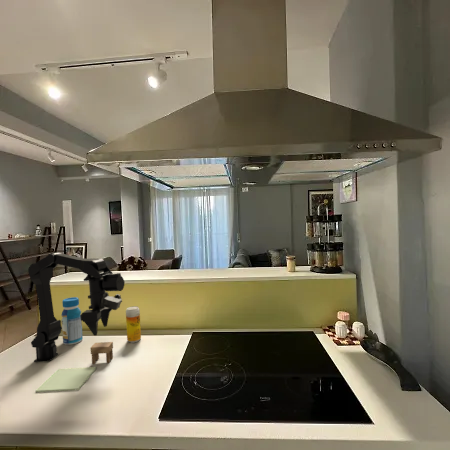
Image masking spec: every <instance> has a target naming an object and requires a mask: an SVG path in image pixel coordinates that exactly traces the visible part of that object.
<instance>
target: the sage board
mask: <svg viewBox="0 0 450 450" xmlns="http://www.w3.org/2000/svg"><path fill="white" fill-rule="evenodd" d="M96 370H97V367H96V366H89V367H88V366H87V367H71V368H67V367H66V368H58V369H57V370H56V371H55V372H53V374H52V375H51V376H49V378H47V379H46V380H45V381H44V382H43V383H42V384H40V386H39V387H38V388H37V389H35V393H47V392H68V391H69V392H70V391H79V390H80V389H81V388H82V387H83V386H84V384H85V383H86V382H87V381H88V379H90V377H91V376H92V374H94V372H95V371H96Z"/></svg>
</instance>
